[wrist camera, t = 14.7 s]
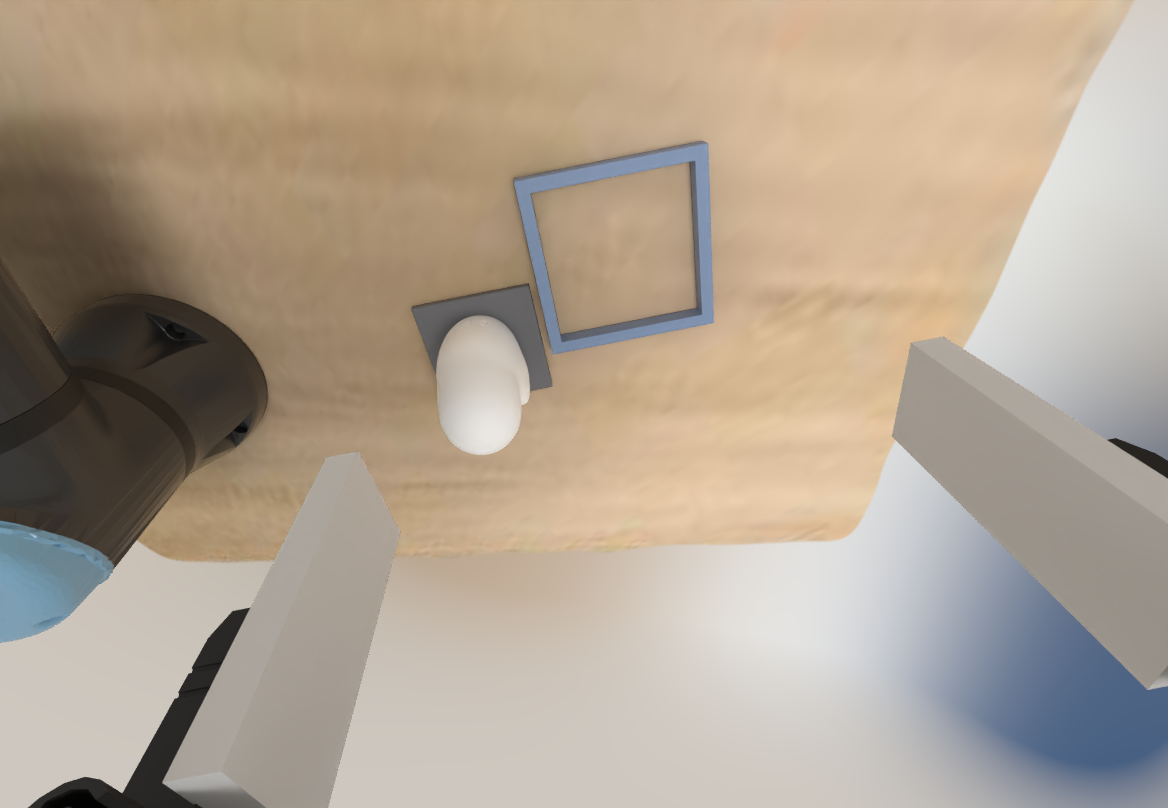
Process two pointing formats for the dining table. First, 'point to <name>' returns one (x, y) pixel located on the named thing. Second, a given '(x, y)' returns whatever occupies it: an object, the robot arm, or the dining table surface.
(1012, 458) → the robot arm
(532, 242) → the cradle
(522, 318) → the mat
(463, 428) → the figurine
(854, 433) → the dining table surface
